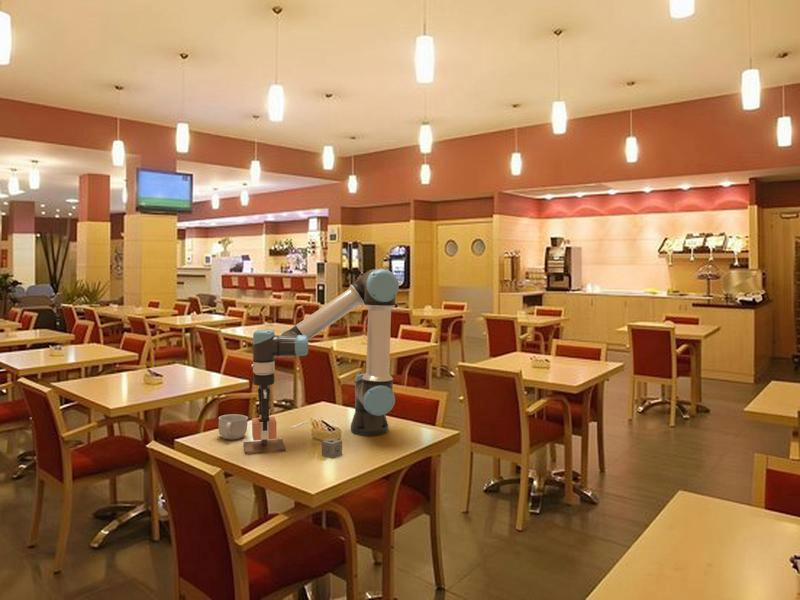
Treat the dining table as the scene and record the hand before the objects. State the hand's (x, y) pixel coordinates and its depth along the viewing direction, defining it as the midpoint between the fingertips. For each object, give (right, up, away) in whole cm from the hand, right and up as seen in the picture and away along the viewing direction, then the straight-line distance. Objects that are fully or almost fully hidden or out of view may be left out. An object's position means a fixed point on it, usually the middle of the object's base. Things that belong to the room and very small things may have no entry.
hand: (263, 435), depth 210 cm
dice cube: (+25, -5, -7) cm, 27 cm away
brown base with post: (0, -5, 0) cm, 5 cm away
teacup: (-15, -4, +11) cm, 19 cm away
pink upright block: (0, 0, 0) cm, 0 cm away
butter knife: (+10, -3, +39) cm, 40 cm away
